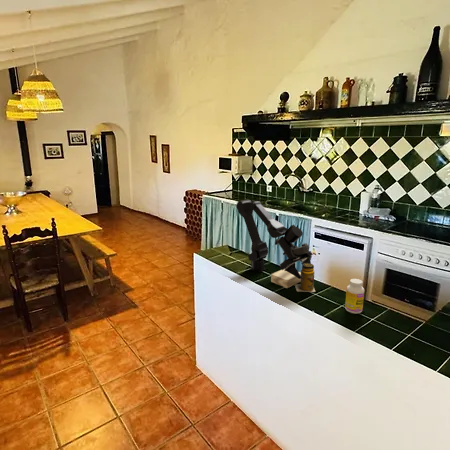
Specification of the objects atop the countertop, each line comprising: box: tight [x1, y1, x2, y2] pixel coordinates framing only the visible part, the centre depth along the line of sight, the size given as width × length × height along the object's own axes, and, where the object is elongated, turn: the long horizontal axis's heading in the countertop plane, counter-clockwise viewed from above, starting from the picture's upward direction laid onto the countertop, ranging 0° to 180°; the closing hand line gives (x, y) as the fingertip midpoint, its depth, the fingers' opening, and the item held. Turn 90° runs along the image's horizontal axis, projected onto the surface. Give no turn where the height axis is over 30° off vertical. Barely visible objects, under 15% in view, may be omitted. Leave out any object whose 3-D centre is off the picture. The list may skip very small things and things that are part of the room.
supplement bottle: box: [344, 278, 365, 315], centre depth 128 cm, size 7×7×13 cm
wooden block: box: [270, 269, 301, 289], centre depth 157 cm, size 10×12×4 cm
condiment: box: [294, 263, 316, 293], centre depth 148 cm, size 7×8×12 cm
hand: (306, 275), depth 148 cm, fingers open, 9 cm apart
